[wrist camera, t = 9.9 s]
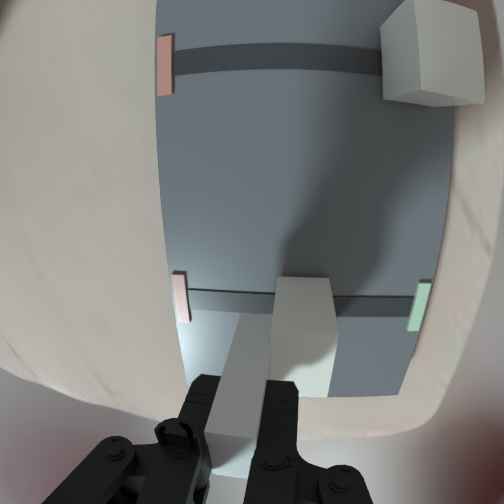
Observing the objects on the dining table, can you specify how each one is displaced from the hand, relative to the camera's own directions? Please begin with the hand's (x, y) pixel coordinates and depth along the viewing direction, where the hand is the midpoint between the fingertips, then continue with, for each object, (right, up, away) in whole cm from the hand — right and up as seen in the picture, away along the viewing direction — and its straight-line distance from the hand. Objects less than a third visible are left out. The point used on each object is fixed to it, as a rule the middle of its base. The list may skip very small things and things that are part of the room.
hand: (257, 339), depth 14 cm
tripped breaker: (+2, +1, +2) cm, 3 cm away
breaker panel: (+2, +8, +2) cm, 8 cm away
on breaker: (+7, +12, -3) cm, 14 cm away
